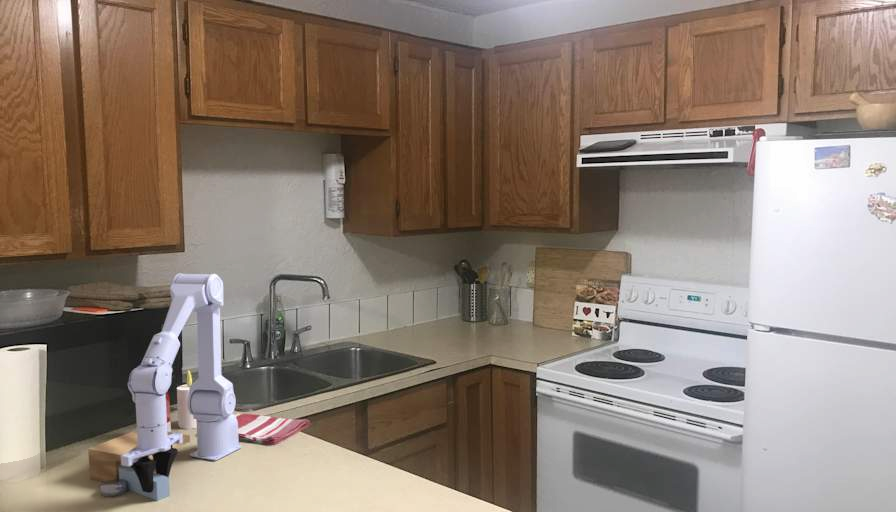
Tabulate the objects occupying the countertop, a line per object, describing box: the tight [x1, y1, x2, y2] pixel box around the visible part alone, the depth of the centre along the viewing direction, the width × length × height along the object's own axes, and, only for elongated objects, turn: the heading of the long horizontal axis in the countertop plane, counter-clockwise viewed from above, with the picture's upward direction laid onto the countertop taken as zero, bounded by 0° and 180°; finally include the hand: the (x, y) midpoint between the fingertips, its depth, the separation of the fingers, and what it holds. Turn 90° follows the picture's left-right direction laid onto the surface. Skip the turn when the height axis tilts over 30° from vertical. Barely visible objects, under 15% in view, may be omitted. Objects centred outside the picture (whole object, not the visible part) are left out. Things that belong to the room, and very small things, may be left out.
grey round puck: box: [99, 479, 128, 498], centre depth 148 cm, size 5×5×2 cm
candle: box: [176, 369, 197, 430], centre depth 190 cm, size 6×6×15 cm
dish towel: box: [233, 412, 310, 446], centre depth 186 cm, size 17×23×3 cm
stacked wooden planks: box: [87, 429, 191, 482], centre depth 159 cm, size 15×14×7 cm
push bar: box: [119, 466, 171, 502], centre depth 149 cm, size 3×14×4 cm, turn 56°
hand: (155, 487), depth 147 cm, fingers closed on push bar, 3 cm apart
